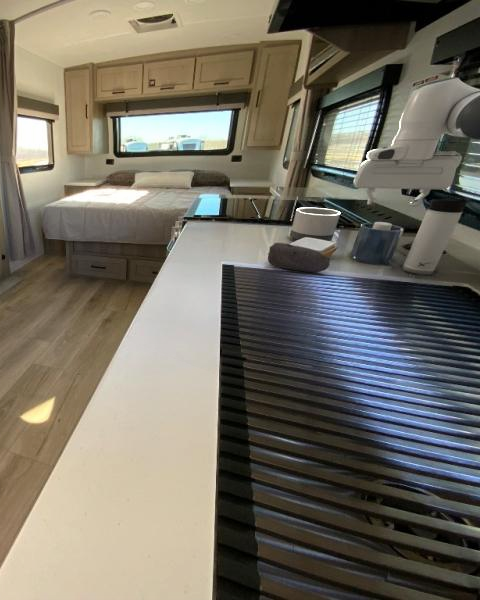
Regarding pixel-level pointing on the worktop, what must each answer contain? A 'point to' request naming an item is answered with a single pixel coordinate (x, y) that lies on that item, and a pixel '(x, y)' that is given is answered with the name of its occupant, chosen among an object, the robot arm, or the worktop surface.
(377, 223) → the supplement bottle
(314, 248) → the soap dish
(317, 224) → the planter
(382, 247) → the blue cylindrical cup
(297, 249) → the perforated stone tool
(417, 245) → the travel mug
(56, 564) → the worktop surface
